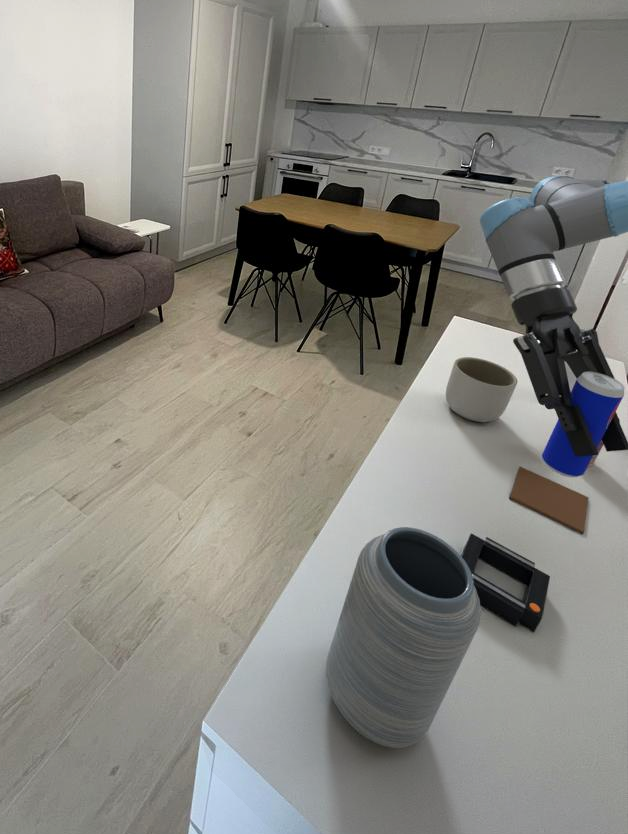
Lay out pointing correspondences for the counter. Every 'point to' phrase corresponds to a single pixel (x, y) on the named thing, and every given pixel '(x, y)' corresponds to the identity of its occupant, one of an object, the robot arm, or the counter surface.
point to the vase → (401, 635)
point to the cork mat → (550, 499)
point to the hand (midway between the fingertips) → (602, 452)
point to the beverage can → (598, 409)
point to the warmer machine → (517, 568)
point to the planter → (479, 389)
